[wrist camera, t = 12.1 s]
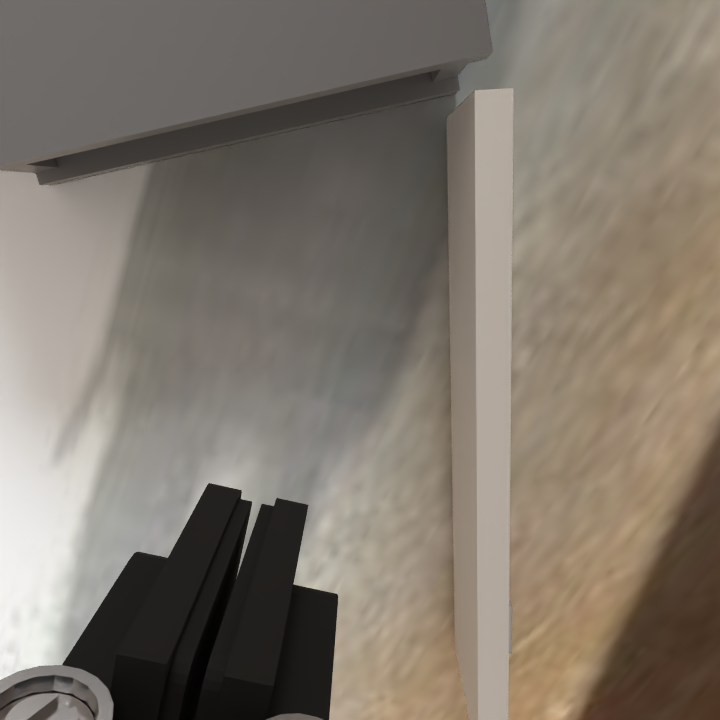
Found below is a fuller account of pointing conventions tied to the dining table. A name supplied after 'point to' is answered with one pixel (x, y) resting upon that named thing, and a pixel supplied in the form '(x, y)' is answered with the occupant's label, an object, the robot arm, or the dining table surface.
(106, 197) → the dining table surface
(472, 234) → the door
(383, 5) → the block
